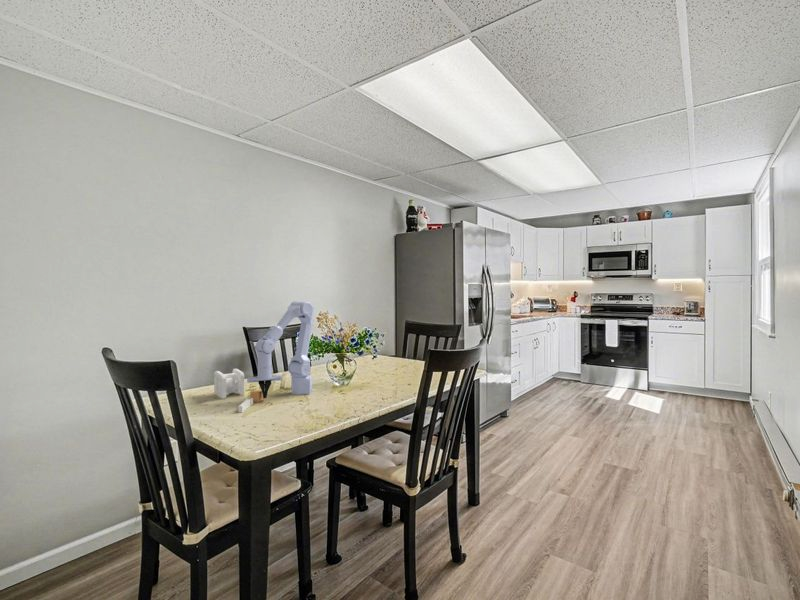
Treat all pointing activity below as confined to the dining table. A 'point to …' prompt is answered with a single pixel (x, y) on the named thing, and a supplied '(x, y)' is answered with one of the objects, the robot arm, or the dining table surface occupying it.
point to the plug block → (256, 395)
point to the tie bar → (245, 404)
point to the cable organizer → (228, 383)
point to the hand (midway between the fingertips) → (264, 397)
